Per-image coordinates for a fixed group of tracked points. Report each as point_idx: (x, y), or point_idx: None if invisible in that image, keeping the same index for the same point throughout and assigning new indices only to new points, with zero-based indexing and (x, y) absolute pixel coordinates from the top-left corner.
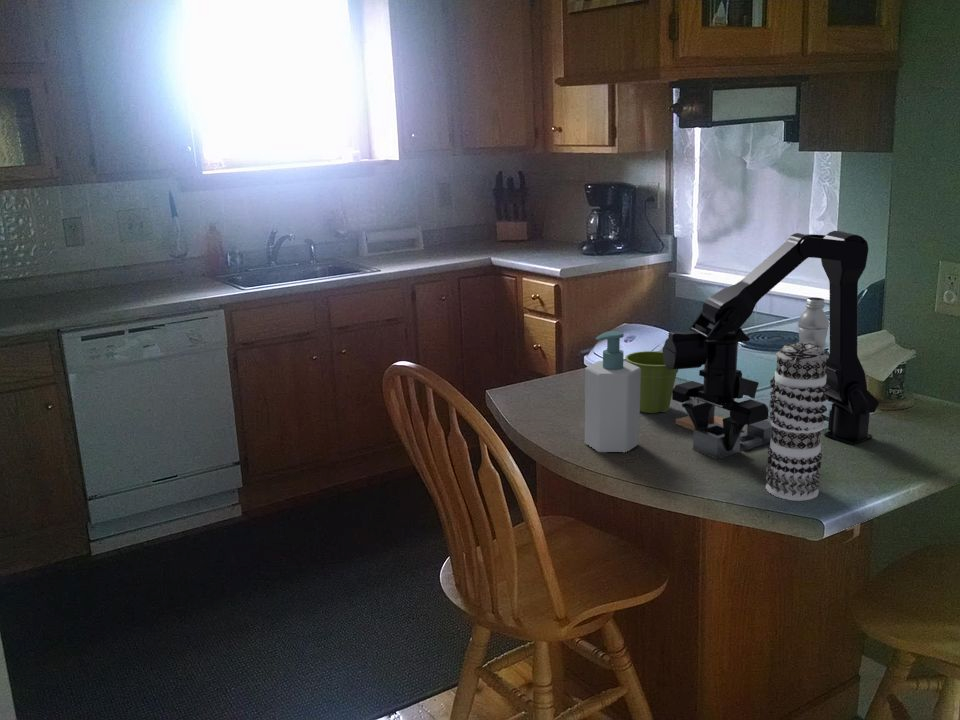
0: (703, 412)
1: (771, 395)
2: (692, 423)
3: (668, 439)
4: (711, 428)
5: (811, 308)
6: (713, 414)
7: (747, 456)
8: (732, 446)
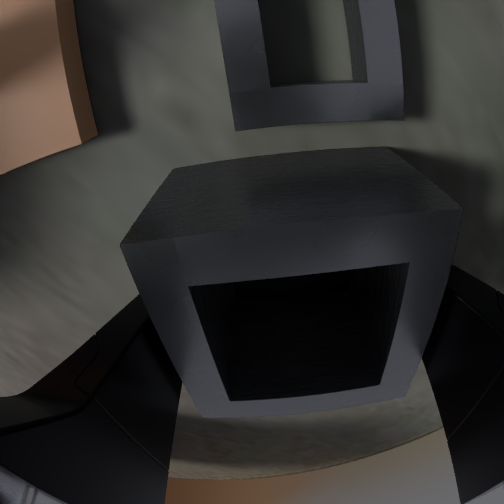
0: (120, 456)
1: None
2: None
3: (74, 324)
4: (205, 323)
5: None
6: None
7: (450, 162)
8: None
